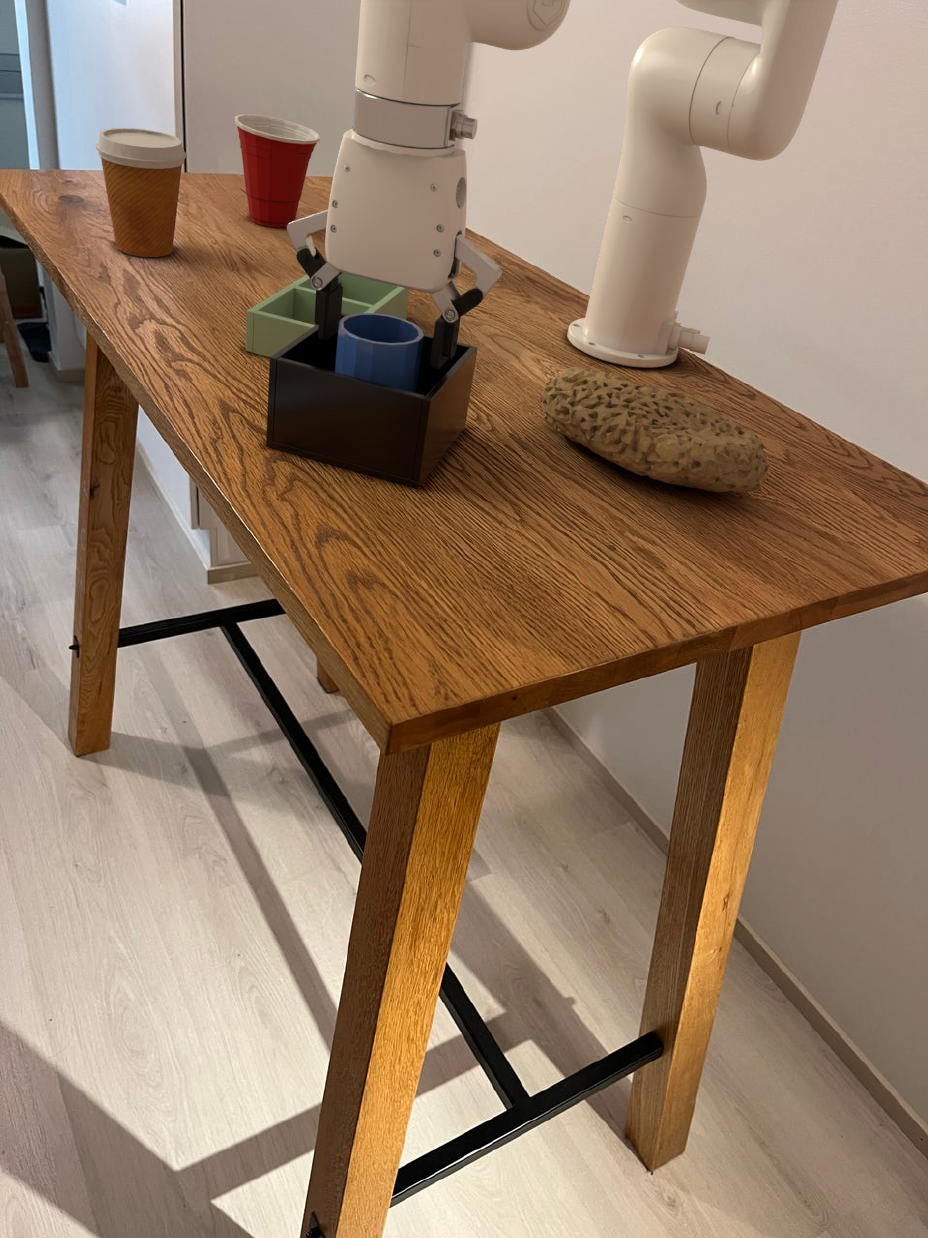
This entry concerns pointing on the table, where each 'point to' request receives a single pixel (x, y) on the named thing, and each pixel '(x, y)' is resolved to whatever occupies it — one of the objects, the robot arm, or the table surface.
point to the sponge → (654, 431)
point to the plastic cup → (274, 166)
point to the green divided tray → (295, 310)
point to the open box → (366, 411)
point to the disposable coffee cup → (142, 188)
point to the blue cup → (379, 349)
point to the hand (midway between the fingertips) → (383, 349)
